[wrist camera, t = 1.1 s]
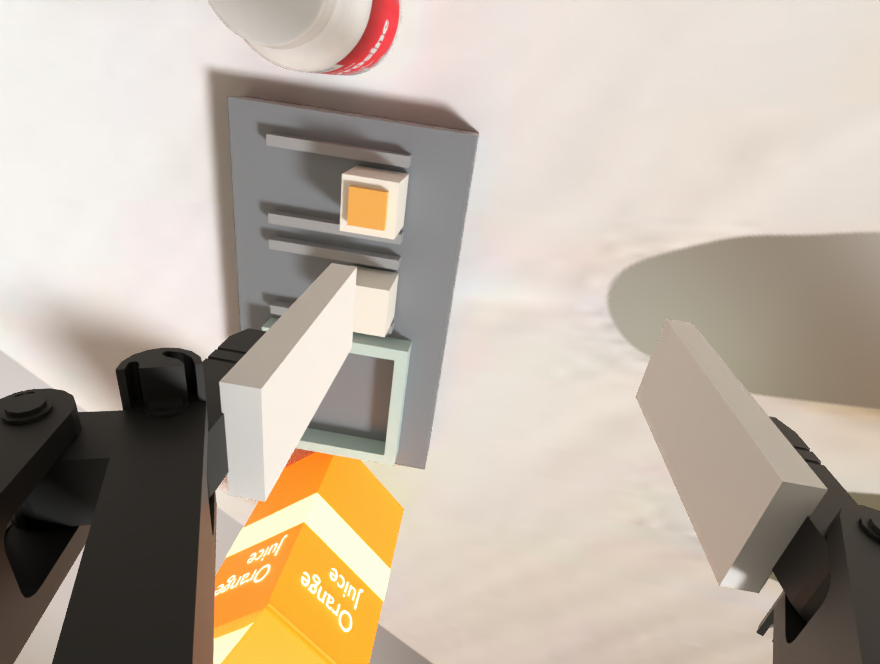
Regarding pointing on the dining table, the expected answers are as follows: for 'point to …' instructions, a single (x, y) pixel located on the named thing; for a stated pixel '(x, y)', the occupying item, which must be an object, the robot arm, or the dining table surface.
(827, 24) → the dining table surface
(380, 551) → the orange juice
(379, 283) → the toggle plain
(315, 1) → the pill bottle
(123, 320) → the dining table surface
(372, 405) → the panel
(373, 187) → the block
